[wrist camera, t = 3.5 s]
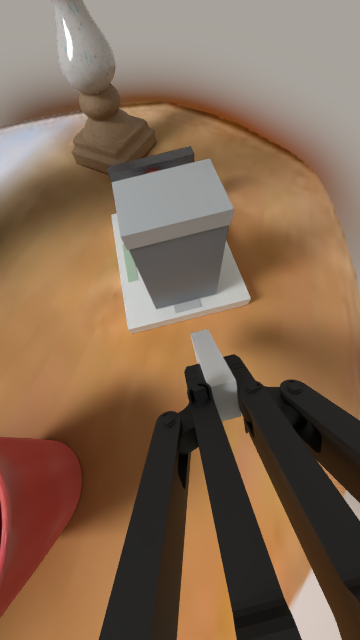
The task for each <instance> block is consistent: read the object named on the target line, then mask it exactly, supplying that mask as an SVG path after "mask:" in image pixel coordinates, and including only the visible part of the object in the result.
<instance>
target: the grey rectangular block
mask: <svg viewBox="0 0 360 640" xmlns="http://www.w3.org/2000/svg"><path fill="white" fill-rule="evenodd" d="M112 188H113V194H114V200H115V206H116V212H117V218H118V224H119V230H120V236H121V239H122V241H123V243H124V245H125V247H126V249H127V250H129V252H130V254H131V256H132V258H133V260H134V262H135V265H136V267H137V269H138V271H139V273H140V275H141V278H142V280H143V282H144V284H145V286H146V288H147V290H148V293H149V295H150V297H151V299H152V301H153V303H154V306H155V308H156V309H159V308H163V307H167V306H171V305H175V304H179V303H183V302H187V301H190V300H194V299H198V298H202V297H206V296H210V295H214V294H217V288H218V283H219V277H220V271H221V266H222V260H223V255H224V249H225V243H226V238H227V232H228V227H229V225H231V221H232V216H233V211H234V208H233V206H232V204H231V202H230V200H229V198H228V195H227V193H226V191H225V189H224V187H223V185H222V183H221V181H220V179H219V177H218V175H217V172H216V170H215V168H214V166H213V164H212V162H211V160H210V158H209V159H205V160H201V161H197V162H193V163H189V164H185V165H180V166H176V167H172V168H168V169H164V170H160V171H156V172H152V173H148V174H144V175H140V176H136V177H131V178H127V179H123V180H119V181H115V182H112Z"/></svg>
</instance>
